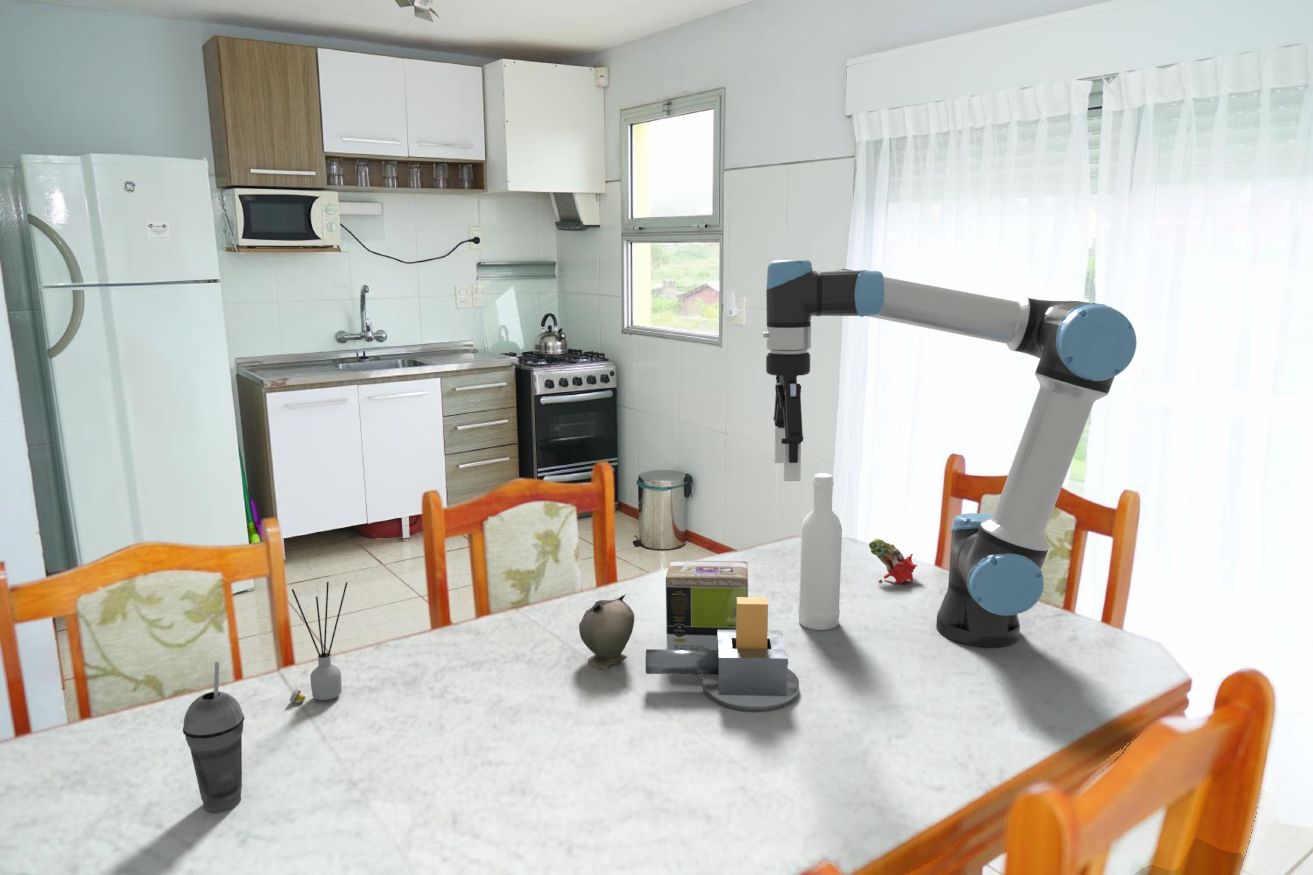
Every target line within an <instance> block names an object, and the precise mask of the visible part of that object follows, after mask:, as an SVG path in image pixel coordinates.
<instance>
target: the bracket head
mask: <svg viewBox="0 0 1313 875" xmlns="http://www.w3.org/2000/svg"><path fill="white" fill-rule="evenodd" d="M785 644H786V643H785V640H784V635H783V631H782V630H780V629H779V630H777V629H774V630H772V629H771V630H770V629H768V636H767V649H736V630H717V650H667V649H654V648H653V649H650V648H649V649H646V650H645V674H646V675H688V676H689V675H696V676H697V675H698V676H699V675H700V676H702V675H703V676H702V692H703V693H704V695H705V696H706V698H708V699H709V700H710V701H712V702H713V703H715V704H717V705H719V706H721V707H723V708H727V709H730V710H734V711H740V712H750V713H758V712H759V713H761V712H770V711H776V710H780V709H782V708H785V707H788V706H789V705H791V704H792V703H793V702H795V701H796V700H797V698H798V696H799V692H800V690H799V688H800V680H799V678H798V676H797V675H796V673H794V671H792V670H791V669H789V665H788V664H789V663H788V662H789V658H788V653H787V649H786V648H787V647H786V645H785Z"/></svg>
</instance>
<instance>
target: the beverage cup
mask: <svg viewBox="0 0 1313 875" xmlns="http://www.w3.org/2000/svg"><path fill="white" fill-rule="evenodd" d="M219 670H220V662H219V661H215V662H214V679H213V680H214V682H213V685H214V686H213V687H214V688H213V691H210V692H206V693H203V694H202V695H199V696H198V697H197V698H196V699H194V701H192V703H191V704H190V705H189V707H188V708H187V710H186V712H185V715H184V719H183V727H182V732H183V733H182V734H184V736H185V740H186V743H187V746H188V747H189V750H190V753H191V755H190V756H191V758H192V762H193V767H194V772H195V775H196V781H197V785H198V786H197V787H198V788H199V789H198V790H199V793H200V794H199V795H200V799H201V800H202V805H203V810H204V811H205V812H207V813H210V814H218V813H223V812H228V811H230V810H232V809H234V808H235V807H237V806H239V804H240V803H241V801H242V788H243V776H242V774H243V770H242V769H243V767H242V766H243V760H242V759H243V758H242V757H243V753H242V752H243V751H242V749H243V744H242V743H243V741H242V738H243V737H242V736H243V732H244V721H245V715H244V713H243V711H242V707H241V705H240V703H239V702H238V700H237V699H236V698H235V697H234V696H232V695H231V694H229V693H226V692H223V691H219V683H220V682H219V680H220V678H219V676H220V675H219V674H220V671H219Z"/></svg>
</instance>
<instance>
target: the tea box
mask: <svg viewBox="0 0 1313 875" xmlns="http://www.w3.org/2000/svg"><path fill="white" fill-rule="evenodd" d="M748 571H749V570H748V561H742V560H738V561H737V560H736V561H734V560H733V561H732V560H725V561H724V560H675V559H674V560H670V561H669V564H668V567H667V572H666V575H665V613H666V614H665V616H666V618H665V621H666V623H665V624H666V625H665V626H666V629H665V630H666V650H717V630H736V603H737V597H749V574H748Z"/></svg>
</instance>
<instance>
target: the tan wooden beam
mask: <svg viewBox="0 0 1313 875" xmlns="http://www.w3.org/2000/svg"><path fill="white" fill-rule="evenodd" d="M768 630H769V601H768V597H763V596H762V597H759V596H758V597H757V596H756V597H754V596H753V597H751V596H748V597H737V603H736V649H767V636H768Z"/></svg>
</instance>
